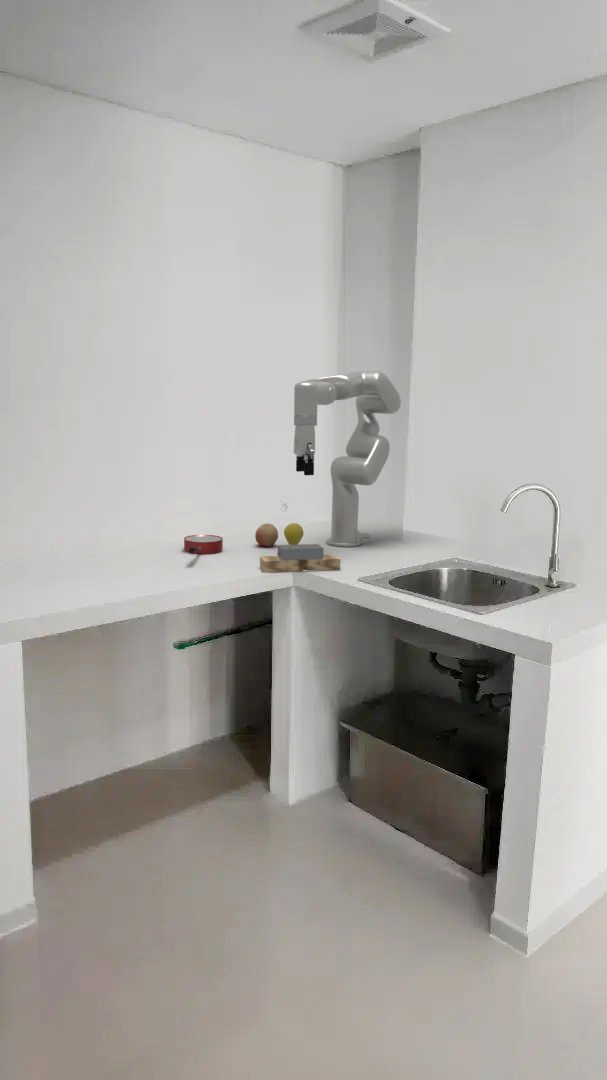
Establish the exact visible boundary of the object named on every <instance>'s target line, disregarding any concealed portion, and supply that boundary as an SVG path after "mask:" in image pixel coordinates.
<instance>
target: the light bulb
mask: <svg viewBox="0 0 607 1080" xmlns="http://www.w3.org/2000/svg"><path fill="white" fill-rule="evenodd" d="M283 535H284V537H285V540H286V542H287V543H288V545H299V544H300V542H301V540H302V538H303V537H304V529H303V527H302V526H301V525H300V524H298V523H293V522H292V523H289V524H287V525H286V527H285V528H284V531H283Z"/></svg>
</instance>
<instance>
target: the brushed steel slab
mask: <svg viewBox="0 0 607 1080" xmlns="http://www.w3.org/2000/svg"><path fill="white" fill-rule="evenodd" d="M323 555H324V547H323V546H321V545H320V544H318V543H311V544H310V543H307V544H306V543H305V544H302V543H301V544H300V543H299V544H298V545H289V544H277V555H276V556H278V557H279V558H280V559H281V560H314V559H323Z"/></svg>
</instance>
